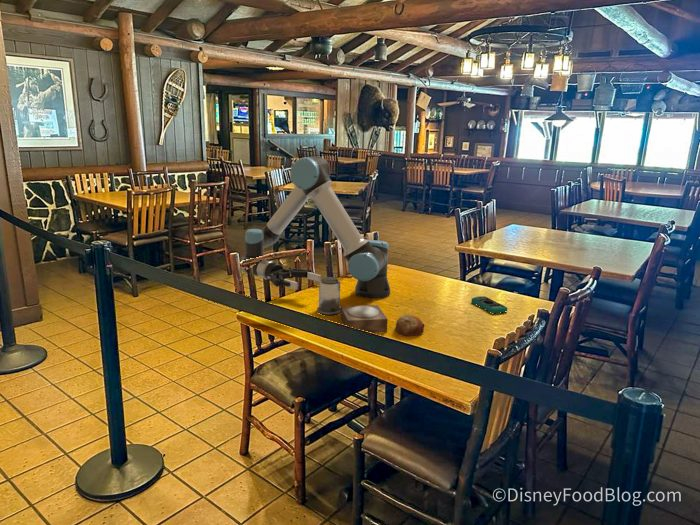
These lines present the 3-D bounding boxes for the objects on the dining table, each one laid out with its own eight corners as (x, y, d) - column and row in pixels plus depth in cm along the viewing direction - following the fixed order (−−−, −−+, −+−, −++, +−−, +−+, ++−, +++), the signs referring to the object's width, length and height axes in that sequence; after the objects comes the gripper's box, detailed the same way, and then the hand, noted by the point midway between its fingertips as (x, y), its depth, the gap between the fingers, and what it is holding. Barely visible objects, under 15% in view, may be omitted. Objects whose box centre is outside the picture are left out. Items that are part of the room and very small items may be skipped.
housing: (338, 307, 197) (339, 275, 194) (342, 315, 189) (344, 282, 185) (315, 307, 196) (316, 276, 192) (318, 316, 187) (319, 283, 184)
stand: (377, 317, 188) (377, 304, 187) (386, 332, 175) (387, 317, 173) (340, 319, 185) (340, 305, 184) (347, 334, 172) (348, 319, 171)
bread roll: (397, 335, 182) (388, 316, 180) (423, 324, 181) (415, 305, 179) (402, 347, 172) (393, 327, 170) (429, 335, 172) (421, 315, 170)
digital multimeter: (484, 301, 211) (485, 295, 210) (507, 313, 198) (508, 306, 197) (469, 303, 208) (470, 296, 208) (492, 315, 195) (493, 308, 195)
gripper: (291, 273, 218) (328, 284, 206) (247, 286, 199) (286, 299, 187) (291, 256, 216) (329, 267, 204) (247, 268, 197) (286, 280, 185)
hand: (309, 282), depth 195 cm, fingers open, 13 cm apart
